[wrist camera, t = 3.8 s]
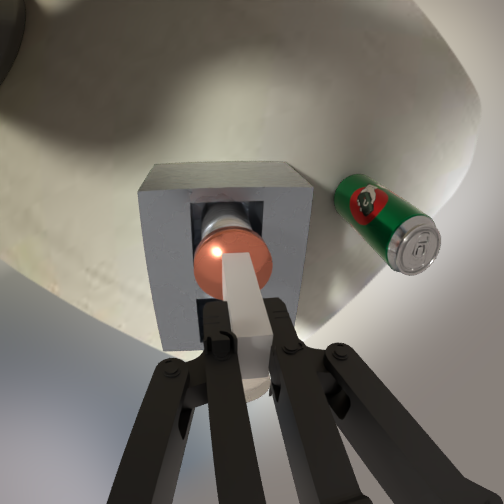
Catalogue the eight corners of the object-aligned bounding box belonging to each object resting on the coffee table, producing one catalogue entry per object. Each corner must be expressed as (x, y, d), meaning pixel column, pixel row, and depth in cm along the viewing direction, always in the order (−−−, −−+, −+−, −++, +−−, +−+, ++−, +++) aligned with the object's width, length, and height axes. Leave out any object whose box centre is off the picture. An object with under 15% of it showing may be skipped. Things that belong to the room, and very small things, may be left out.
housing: (154, 164, 26) (137, 191, 19) (285, 161, 28) (313, 187, 21) (168, 298, 33) (163, 351, 26) (273, 293, 35) (291, 342, 28)
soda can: (328, 217, 31) (385, 283, 21) (334, 171, 29) (402, 220, 19) (369, 217, 32) (433, 276, 22) (377, 173, 30) (451, 220, 19)
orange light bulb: (193, 189, 23) (191, 235, 16) (252, 188, 24) (275, 232, 17) (196, 242, 25) (196, 302, 19) (250, 240, 26) (269, 298, 19)
